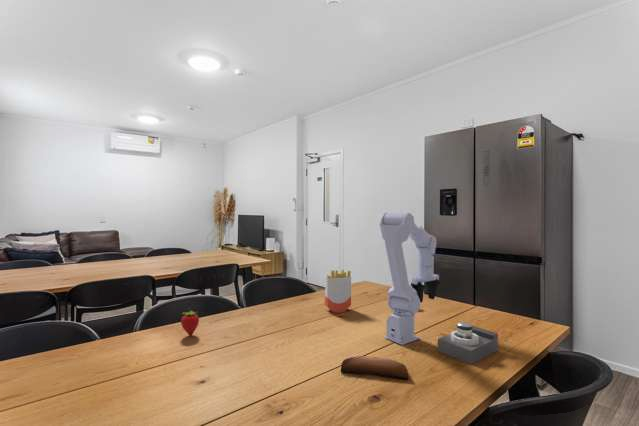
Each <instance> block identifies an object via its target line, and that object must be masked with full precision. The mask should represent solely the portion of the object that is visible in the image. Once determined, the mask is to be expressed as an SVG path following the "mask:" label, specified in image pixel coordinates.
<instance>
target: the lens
mask: <svg viewBox="0 0 639 426" xmlns="http://www.w3.org/2000/svg"><path fill="white" fill-rule="evenodd" d="M472 326H473V324H472V323H470V322H468V321H457V323H456V331H457V337H460V338H464V339H472Z"/></svg>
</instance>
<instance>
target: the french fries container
mask: <svg viewBox="0 0 639 426" xmlns="http://www.w3.org/2000/svg"><path fill="white" fill-rule="evenodd" d="M344 271H345V270H344V269H341V273H340V272H339V270H332V269H331V271H330V274H326V277H325V288H324V289H325V290H324V305H325V306H326V307H327V308H328V309H329V310H330V311H331V312H332V313H341V312H346V311H347V310H348V309H349V308H350V307H351V306H352V277H351V270H347V272H346V271H345V272H344Z"/></svg>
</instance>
